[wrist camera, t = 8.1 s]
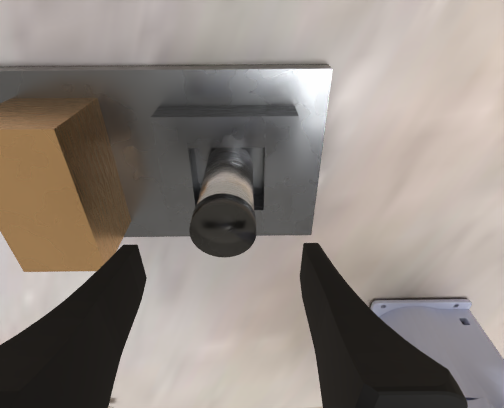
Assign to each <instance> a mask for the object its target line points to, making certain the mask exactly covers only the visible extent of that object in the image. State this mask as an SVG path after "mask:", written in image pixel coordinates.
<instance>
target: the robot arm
mask: <svg viewBox="0 0 504 408" xmlns="http://www.w3.org/2000/svg"><path fill="white" fill-rule="evenodd" d="M300 282H301V291H302V298H303V303H304V307H305V311H306V315H307V319H308V323H309V328H310V332H311V336H312V340H313V344H314V349H315V354H316V360H317V367H318V374H319V381H320V388H321V396H322V404H323V408H504V359H503V358H502V356H501V355H500V353H499V352H498V350H497V349H496V348H495V346H494V345H493V343H492V342H491V340H490V339H489V337H488V336H487V335H486V333H485V332H484V330H483V329H482V327H481V326H480V324H479V323H478V322H477V320H476V319H475V317H474V316H473V314H472V313H471V311H470V310H469V309H470V307H471V305H472V303H471V302H470V300H468V299H441V300H376V301H374V302H373V303H372V305H371V308H369V307H368V306H367V305H366V304H365V303H364V302H363V301H362V300H361V299H360V298H359V296H358V295H357V294H356V293H355V292H354V291H353V290H352V288H351V287H350V286H349V285H348V284H347V282H346V281H345V280H344V279H343V277H342V276H341V275H340V274H339V272H338V271H337V270H336V268H335V267H334V266H333V264H332V263H331V261H330V260H329V258H328V257H327V255H326V254H325V252H324V251H323V249H322V248H321V246H320V245H319V244H318V243H304V245H303V254H302V262H301V271H300ZM145 283H146V274H145V270H144V267H143V263H142V259H141V256H140V252H139V249H138V245H123V246H122V247H121V248H120V249H119V250H118V251H117V252H116V253H115V254H114V255H113V256H112V257H111V258H110V259H109V260H108V261H107V262H106V263H105V264H104V265H103V266H102V267H101V268H100V269H99V270H98V271H97V272H96V273H94V274H93V275H92V276H91V277H90V278H89V279H88V280H87V281H86V282H85V283H84V284H83V285H82V286H81V287H79V288H78V289H77V290H76V291H75V292H74V293H73V294H72V295H70V296H69V297H68V298H67V299H66V300H65V301H63V302H62V303H61V304H60V305H58V306H57V307H56V308H54V309H53V310H52V311H50V312H49V313H48V314H47V315H45V316H44V317H42V318H41V319H40V320H38V321H37V322H35V323H34V324H32V325H31V326H29V327H28V328H26V329H25V330H23V331H22V332H21V333H19V334H18V335H16V336H14V337H13V338H11V339H10V340H8V341H6V342H5V343H3V344H1V345H0V408H108V405H109V401H110V397H111V393H112V389H113V384H114V380H115V377H116V373H117V369H118V365H119V361H120V358H121V355H122V352H123V349H124V346H125V343H126V340H127V338H128V335H129V332H130V330H131V327H132V324H133V322H134V319H135V316H136V314H137V311H138V308H139V305H140V303H141V300H142V296H143V292H144V287H145Z"/></svg>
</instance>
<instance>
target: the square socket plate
mask: <svg viewBox="0 0 504 408" xmlns="http://www.w3.org/2000/svg"><path fill="white" fill-rule="evenodd" d="M332 71H333V68H331V67H330V66H329V65H185V66H34V67H0V231H1V233H2V235H3V236H4V238H5V240H6V241H7V243H8V245H9V247H10V248H11V250H12V252H13V254H14V255H15V257H16V259H17V260H18V262H19V264H20V266H21V267H22V269H23V271H24V272H48V271H98V270H99V269H100V268H101V267H102V266H103V265H104V264H105V263H106V262H107V261H108V260H109V259H110V258H111V257H112V256H113V255H114V254H115V253H116V251H117V249H118V247H119V245H120V243H121V241H122V239H123V237H159V236H190V232H189V228H190V223H191V219H192V215H193V211H194V209H195V207H196V205H197V203H198V199H199V194H200V190H201V186H202V182H203V177H204V173H205V169H206V165H207V161H208V157H209V155H210V153H211V152H212V151H213V150H214V149H215V148H243V149H245V150H246V151H247V152H248V153H249V155H250V157H251V159H252V164H253V201H254V212H255V216H256V235H311V232H312V224H313V216H314V209H315V201H316V193H317V186H318V178H319V170H320V163H321V155H322V147H323V140H324V132H325V125H326V117H327V109H328V102H329V94H330V86H331V79H332Z"/></svg>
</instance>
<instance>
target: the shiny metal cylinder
mask: <svg viewBox="0 0 504 408" xmlns="http://www.w3.org/2000/svg"><path fill="white" fill-rule="evenodd" d="M189 232H190V237H191V239H192V241H193V243H194V244H195V245H196V246H197V247H198V248H199V249H200V250H202V251H203V252H205V253H207V254H209V255H212V256H217V257H232V256H236V255H239V254H241V253H243V252H245V251H246V250H248V249H249V248H250V247H251V246H252V244H253V243H254V241H255V238H256V216H255V212H254V201H253V164H252V159H251V157H250V155H249V153H248V152H247V151H246V150H245V149H243V148H215V149H214V150H213V151H212V152H211V153H210V155H209V157H208V161H207V165H206V169H205V173H204V177H203V182H202V186H201V190H200V194H199V199H198V203H197V205H196V207H195V209H194V211H193V215H192V219H191V223H190V228H189Z"/></svg>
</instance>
